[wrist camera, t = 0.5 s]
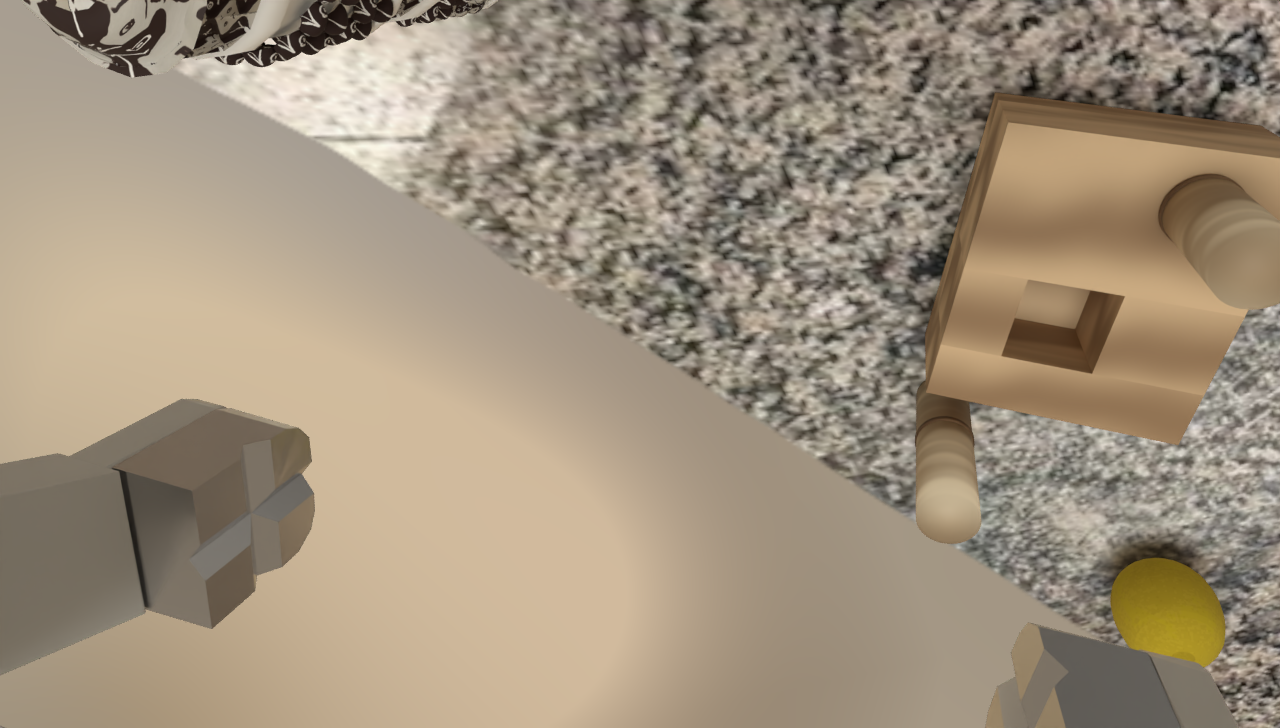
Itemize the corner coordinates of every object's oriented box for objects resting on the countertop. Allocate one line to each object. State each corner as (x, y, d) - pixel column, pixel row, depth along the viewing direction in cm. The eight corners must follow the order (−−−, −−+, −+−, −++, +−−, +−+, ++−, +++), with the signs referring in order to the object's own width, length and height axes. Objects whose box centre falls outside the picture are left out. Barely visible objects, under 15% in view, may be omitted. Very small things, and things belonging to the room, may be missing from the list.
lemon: (1202, 531, 48) (1248, 629, 41) (1198, 599, 50) (1241, 703, 44) (1098, 531, 50) (1126, 626, 43) (1099, 597, 52) (1126, 697, 46)
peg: (922, 370, 48) (923, 487, 38) (975, 380, 48) (990, 503, 38) (910, 411, 50) (907, 535, 40) (961, 422, 49) (972, 551, 39)
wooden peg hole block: (995, 92, 40) (1027, 164, 28) (1261, 125, 37) (1416, 220, 26) (925, 333, 47) (927, 470, 36) (1144, 376, 45) (1224, 538, 33)
